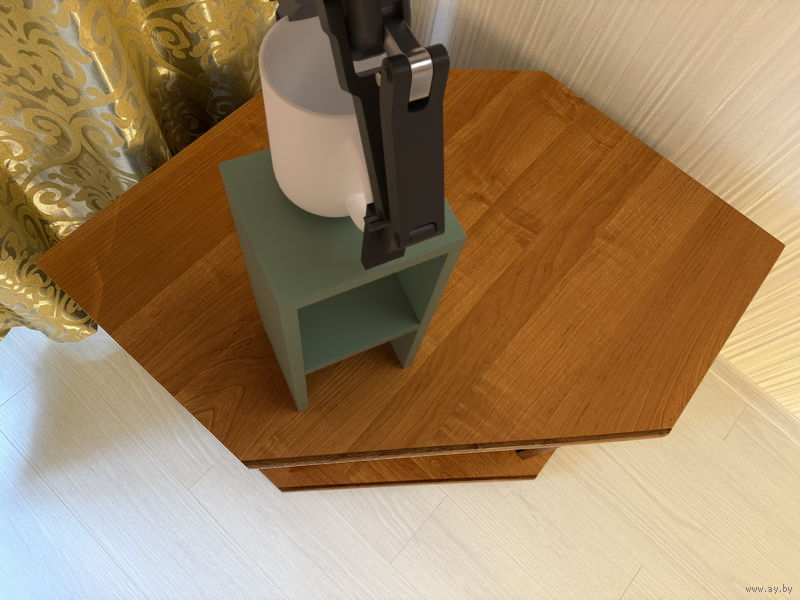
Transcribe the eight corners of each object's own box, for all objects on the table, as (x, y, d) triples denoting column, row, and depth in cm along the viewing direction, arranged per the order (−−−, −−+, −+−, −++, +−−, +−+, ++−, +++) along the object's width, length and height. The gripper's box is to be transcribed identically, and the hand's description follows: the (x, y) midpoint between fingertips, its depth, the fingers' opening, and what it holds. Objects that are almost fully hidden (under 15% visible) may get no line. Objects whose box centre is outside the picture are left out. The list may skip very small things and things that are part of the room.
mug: (430, 248, 40) (461, 153, 31) (312, 284, 38) (308, 194, 29) (368, 113, 44) (379, -7, 35) (259, 139, 42) (239, 18, 33)
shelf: (412, 364, 69) (467, 237, 42) (298, 412, 66) (278, 307, 38) (370, 278, 73) (395, 110, 46) (260, 319, 69) (217, 163, 42)
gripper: (144, -358, 23) (228, 64, 43) (413, 102, 15) (365, 360, 35) (324, -368, 25) (325, 39, 45) (642, 35, 17) (475, 314, 37)
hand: (343, 180), depth 40 cm, fingers closed on mug, 12 cm apart
